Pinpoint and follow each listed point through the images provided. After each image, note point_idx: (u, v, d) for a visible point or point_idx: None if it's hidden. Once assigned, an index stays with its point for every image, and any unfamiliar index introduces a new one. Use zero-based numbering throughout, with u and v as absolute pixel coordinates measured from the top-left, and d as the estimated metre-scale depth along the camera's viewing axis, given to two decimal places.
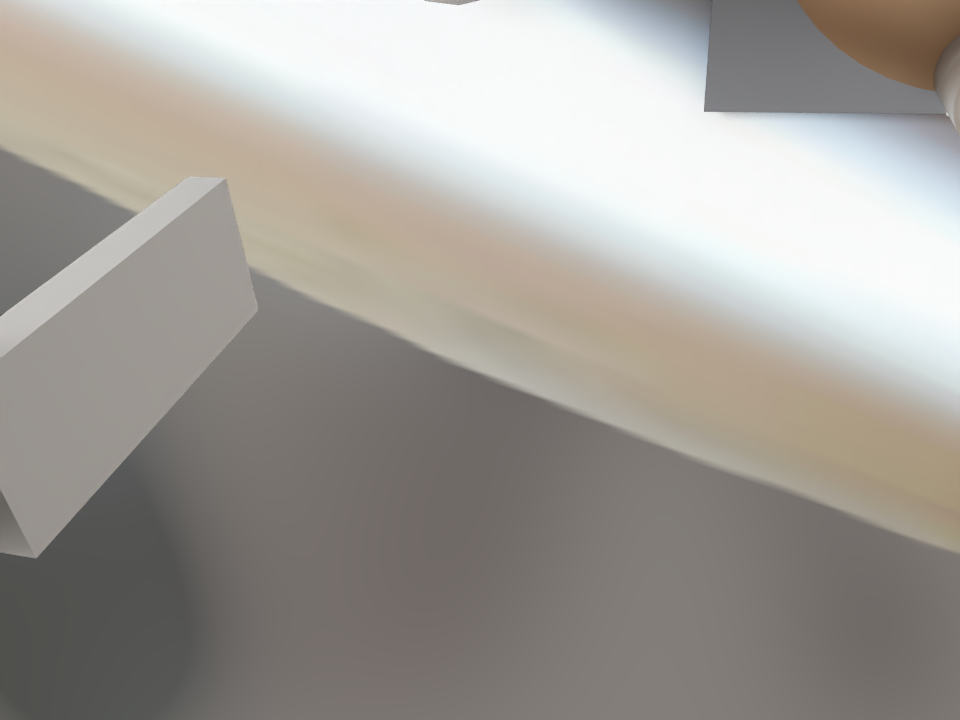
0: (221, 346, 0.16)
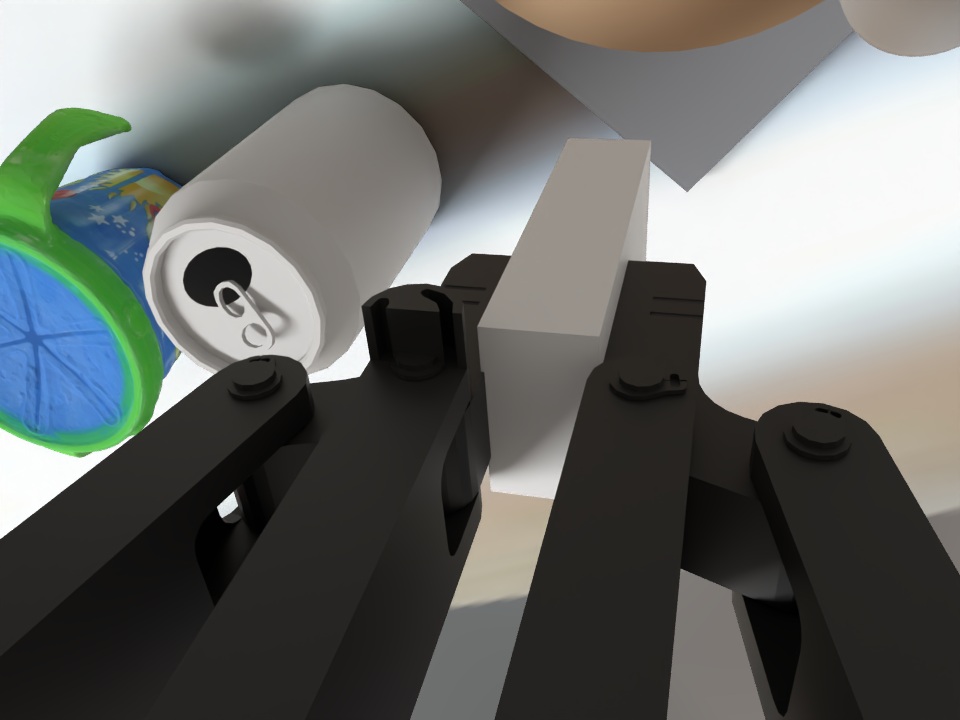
0: None
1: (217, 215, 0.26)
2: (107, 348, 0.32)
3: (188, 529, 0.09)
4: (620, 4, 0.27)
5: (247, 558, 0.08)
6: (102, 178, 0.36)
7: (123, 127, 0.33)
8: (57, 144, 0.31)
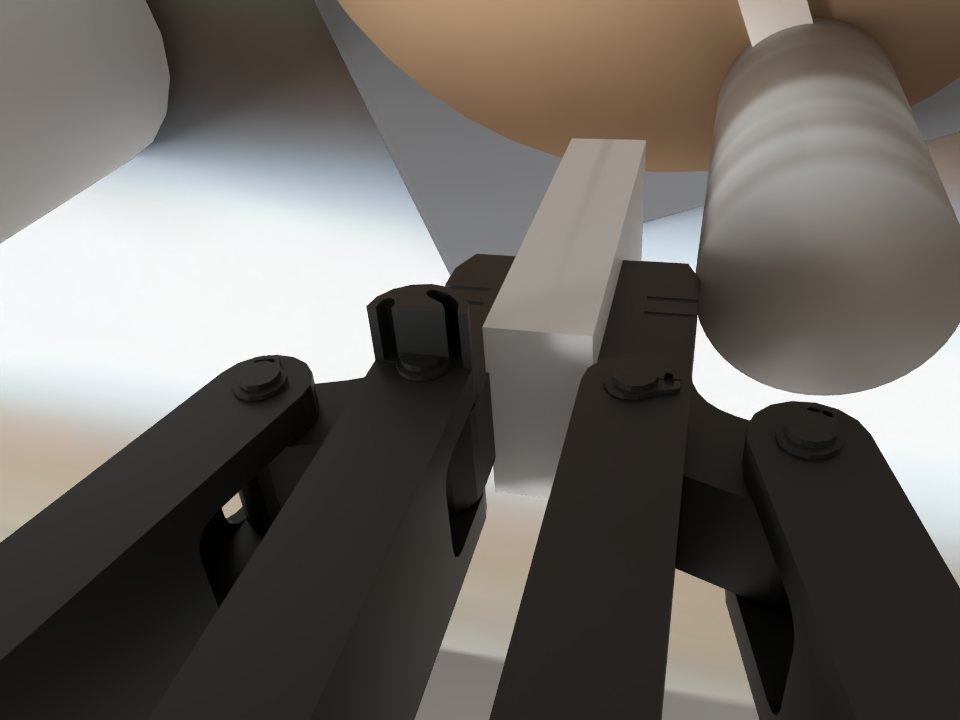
0: None
1: None
2: None
3: (192, 529, 0.09)
4: (462, 46, 0.19)
5: (251, 558, 0.08)
6: None
7: None
8: None
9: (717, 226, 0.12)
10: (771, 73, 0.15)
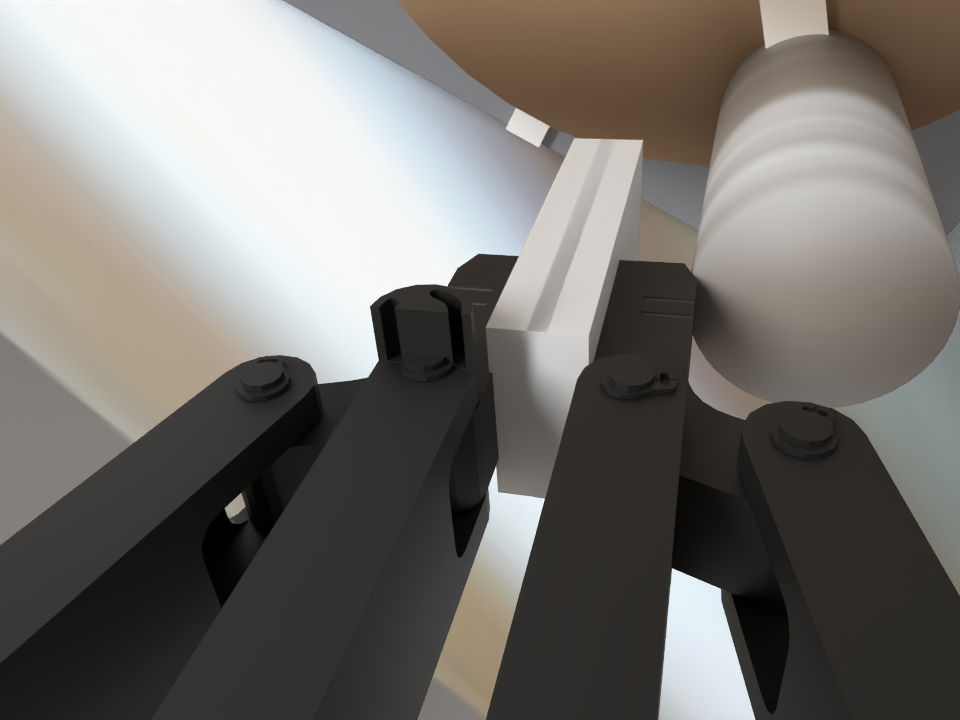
0: None
1: None
2: None
3: (195, 529, 0.09)
4: (474, 0, 0.19)
5: (254, 558, 0.08)
6: None
7: None
8: None
9: (722, 229, 0.12)
10: (785, 80, 0.15)
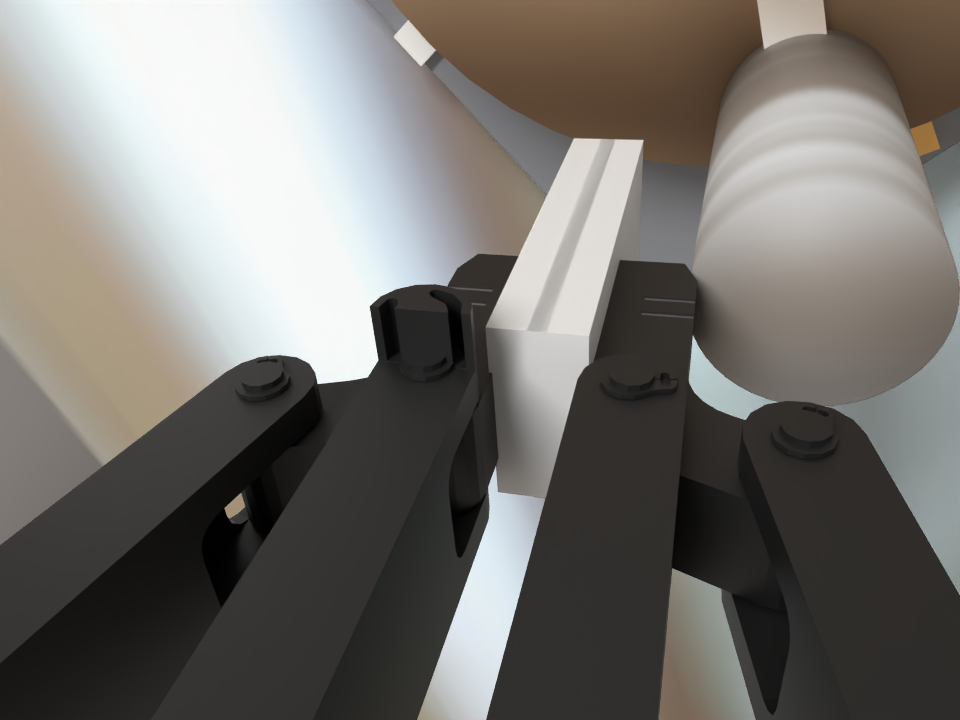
0: None
1: None
2: None
3: (194, 529, 0.09)
4: (474, 5, 0.19)
5: (254, 558, 0.08)
6: None
7: None
8: None
9: (721, 228, 0.12)
10: (783, 80, 0.15)
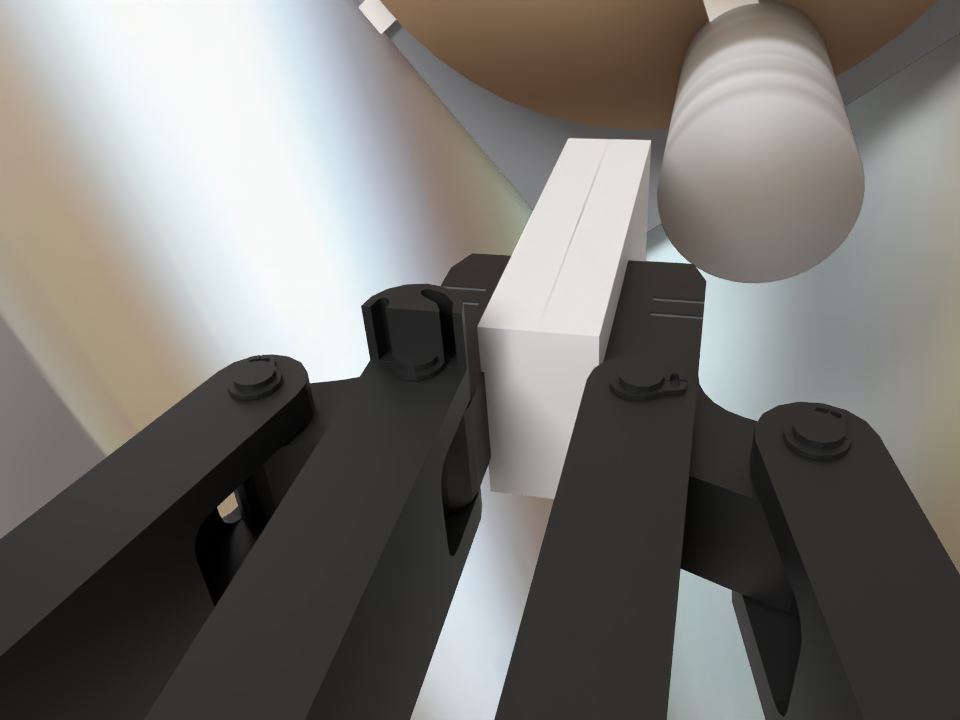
0: None
1: None
2: None
3: (188, 529, 0.09)
4: (468, 19, 0.23)
5: (247, 558, 0.08)
6: None
7: None
8: None
9: (674, 144, 0.15)
10: (722, 39, 0.19)
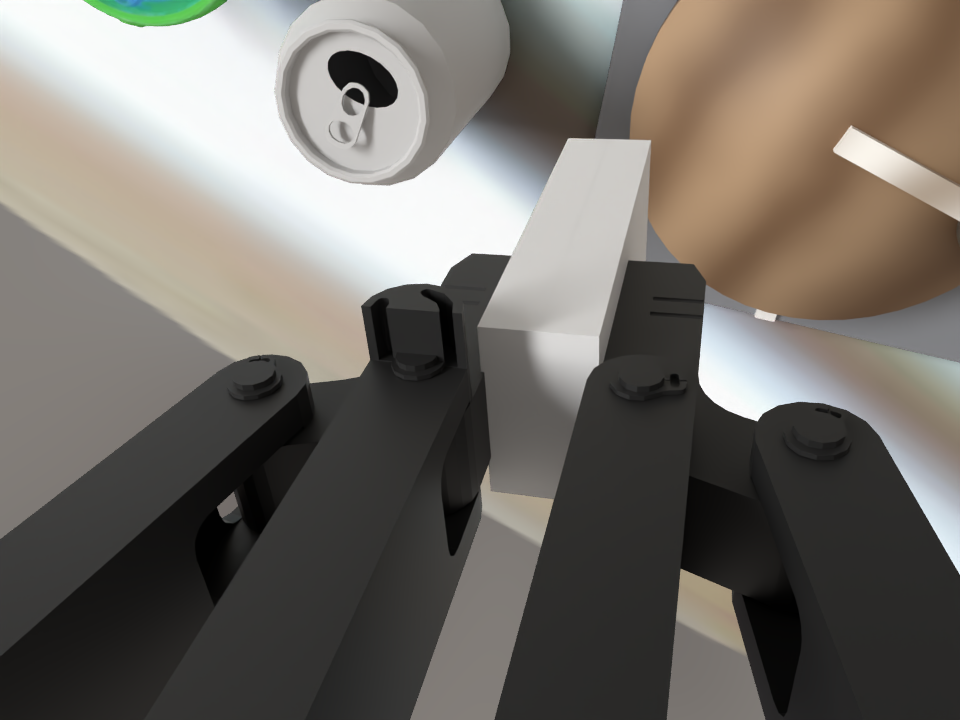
0: None
1: (415, 63, 0.31)
2: None
3: (187, 528, 0.09)
4: (826, 294, 0.40)
5: (247, 558, 0.08)
6: None
7: None
8: None
9: None
10: None
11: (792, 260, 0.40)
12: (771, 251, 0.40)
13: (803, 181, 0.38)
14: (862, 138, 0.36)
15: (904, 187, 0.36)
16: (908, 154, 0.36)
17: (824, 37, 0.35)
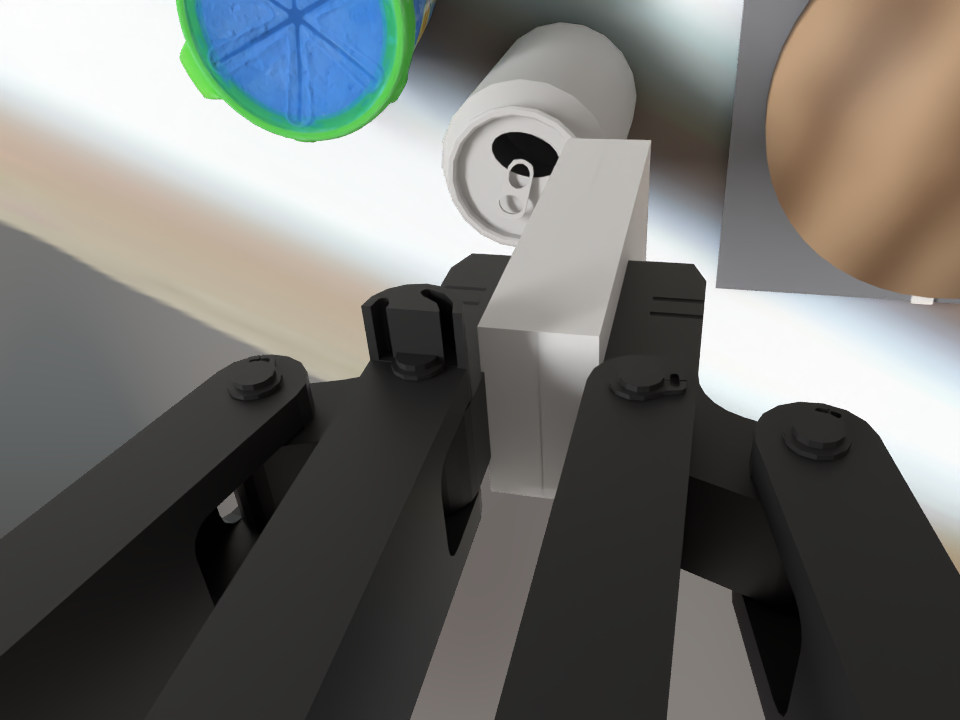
0: None
1: (573, 132, 0.34)
2: (357, 85, 0.37)
3: (186, 528, 0.09)
4: None
5: (247, 558, 0.08)
6: None
7: None
8: None
9: None
10: None
11: (945, 244, 0.41)
12: (923, 239, 0.41)
13: (947, 168, 0.39)
14: None
15: None
16: None
17: (951, 31, 0.36)
